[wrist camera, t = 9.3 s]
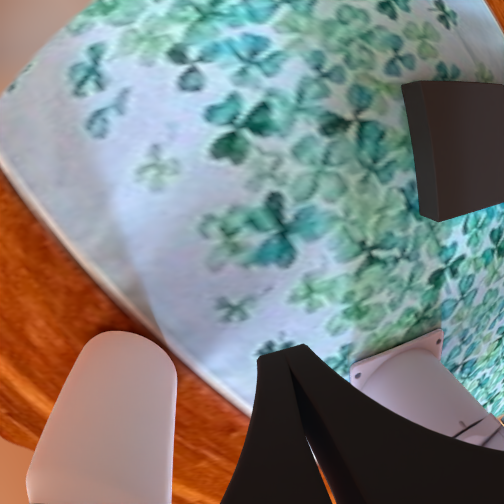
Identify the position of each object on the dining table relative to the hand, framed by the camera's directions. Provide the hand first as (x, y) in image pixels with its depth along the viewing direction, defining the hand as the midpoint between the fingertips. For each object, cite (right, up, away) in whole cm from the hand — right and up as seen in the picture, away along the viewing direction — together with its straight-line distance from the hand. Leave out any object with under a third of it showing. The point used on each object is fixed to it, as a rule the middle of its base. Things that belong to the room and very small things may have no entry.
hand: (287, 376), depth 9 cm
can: (-9, -4, +10) cm, 14 cm away
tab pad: (+12, +10, +8) cm, 18 cm away
